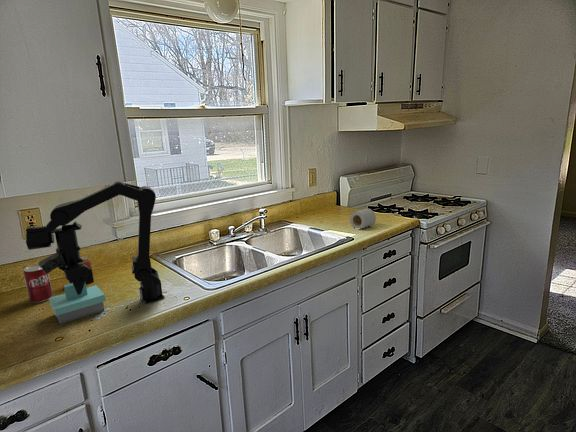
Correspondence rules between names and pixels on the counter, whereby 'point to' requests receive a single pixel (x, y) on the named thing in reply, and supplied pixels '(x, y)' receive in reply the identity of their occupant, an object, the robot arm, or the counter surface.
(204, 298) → the counter surface
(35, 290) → the soda can
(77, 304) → the lid
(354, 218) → the toilet paper
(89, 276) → the battery
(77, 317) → the tub
